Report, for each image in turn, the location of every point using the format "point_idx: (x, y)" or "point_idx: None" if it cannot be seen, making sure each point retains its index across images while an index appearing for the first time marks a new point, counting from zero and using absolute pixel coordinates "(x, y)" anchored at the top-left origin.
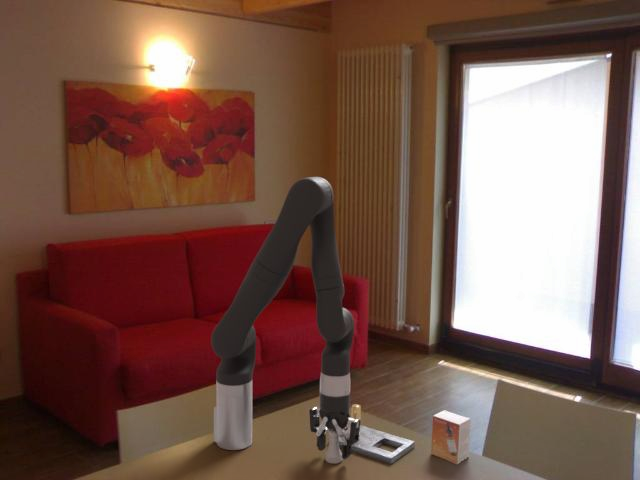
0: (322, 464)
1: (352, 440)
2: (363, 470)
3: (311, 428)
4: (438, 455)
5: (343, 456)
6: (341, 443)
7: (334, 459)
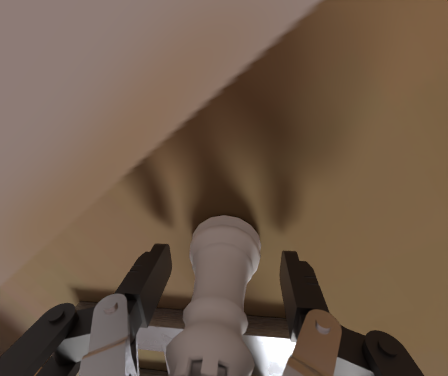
0: (240, 192)
1: (33, 333)
2: (102, 235)
3: (400, 359)
4: (38, 370)
5: (156, 249)
6: (258, 330)
7: (202, 230)
